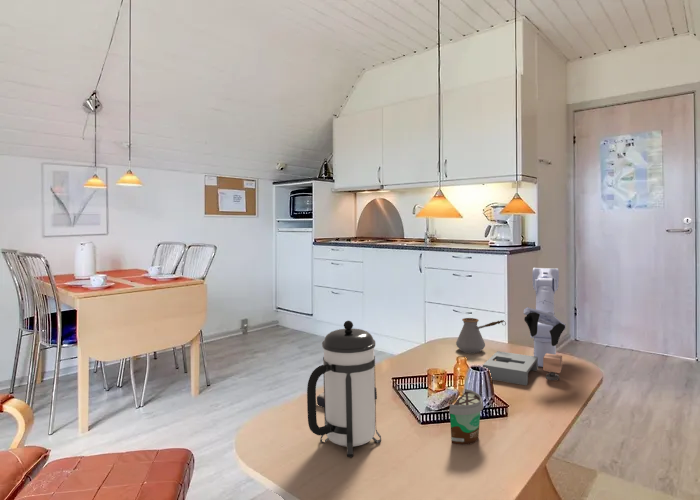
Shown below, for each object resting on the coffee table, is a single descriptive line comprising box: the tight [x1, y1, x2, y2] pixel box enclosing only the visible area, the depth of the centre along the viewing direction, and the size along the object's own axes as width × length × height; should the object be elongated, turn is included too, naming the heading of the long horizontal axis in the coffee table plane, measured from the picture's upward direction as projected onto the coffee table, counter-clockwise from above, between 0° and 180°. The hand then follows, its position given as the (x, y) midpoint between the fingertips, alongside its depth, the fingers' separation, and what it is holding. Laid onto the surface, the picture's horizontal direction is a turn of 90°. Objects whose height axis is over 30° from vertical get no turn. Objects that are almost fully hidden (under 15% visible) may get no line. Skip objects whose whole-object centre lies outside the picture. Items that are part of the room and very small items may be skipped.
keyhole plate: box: [482, 350, 539, 386], centre depth 155 cm, size 18×14×4 cm
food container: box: [448, 388, 484, 446], centre depth 110 cm, size 12×6×10 cm, turn 148°
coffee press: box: [306, 320, 382, 458], centre depth 108 cm, size 17×16×30 cm
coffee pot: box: [455, 317, 507, 354], centre depth 179 cm, size 21×12×15 cm, turn 39°
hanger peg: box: [542, 353, 563, 381], centre depth 150 cm, size 5×5×8 cm
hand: (544, 339), depth 146 cm, fingers open, 7 cm apart
